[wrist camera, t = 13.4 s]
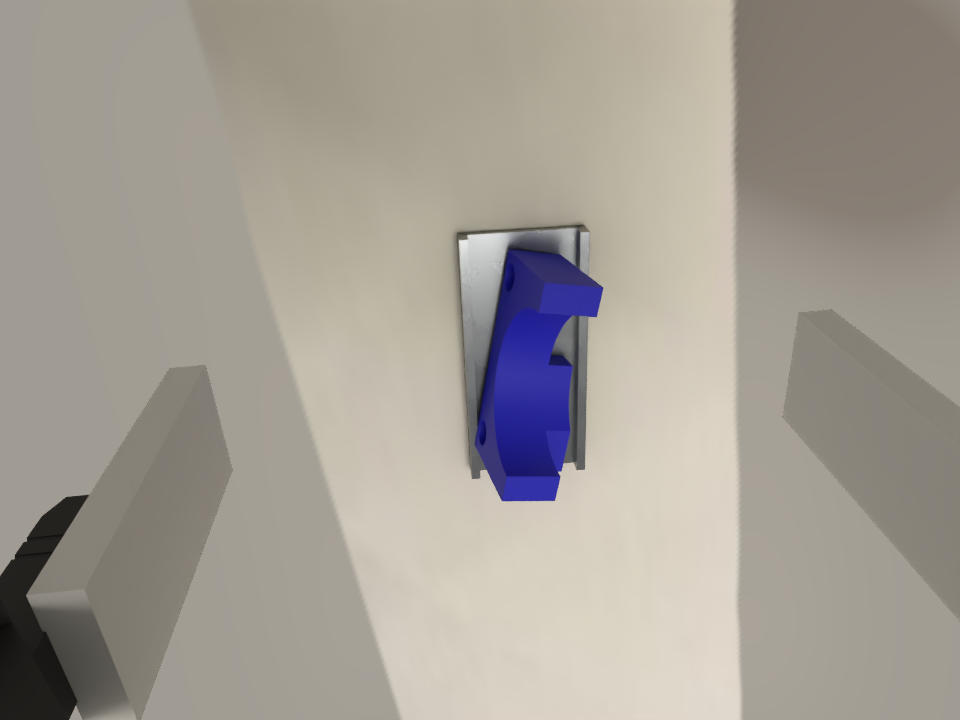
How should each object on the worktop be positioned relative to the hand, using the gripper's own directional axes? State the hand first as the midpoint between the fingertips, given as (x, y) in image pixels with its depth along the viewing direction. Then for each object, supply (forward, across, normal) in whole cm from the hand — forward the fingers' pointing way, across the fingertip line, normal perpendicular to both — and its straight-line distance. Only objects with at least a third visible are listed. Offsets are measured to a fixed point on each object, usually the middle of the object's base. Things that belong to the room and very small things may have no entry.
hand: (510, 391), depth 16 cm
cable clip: (+24, +3, -11) cm, 26 cm away
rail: (+24, +3, -11) cm, 27 cm away
